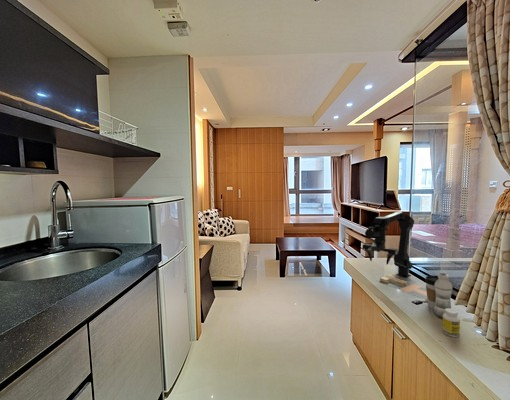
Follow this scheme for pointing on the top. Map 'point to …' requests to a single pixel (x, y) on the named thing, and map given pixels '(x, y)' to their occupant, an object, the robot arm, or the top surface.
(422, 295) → the grey flat panel
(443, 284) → the plastic bottle
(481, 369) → the top surface
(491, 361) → the top surface
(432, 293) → the coffee cup
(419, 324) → the top surface
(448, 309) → the supplement bottle
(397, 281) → the oak T block
